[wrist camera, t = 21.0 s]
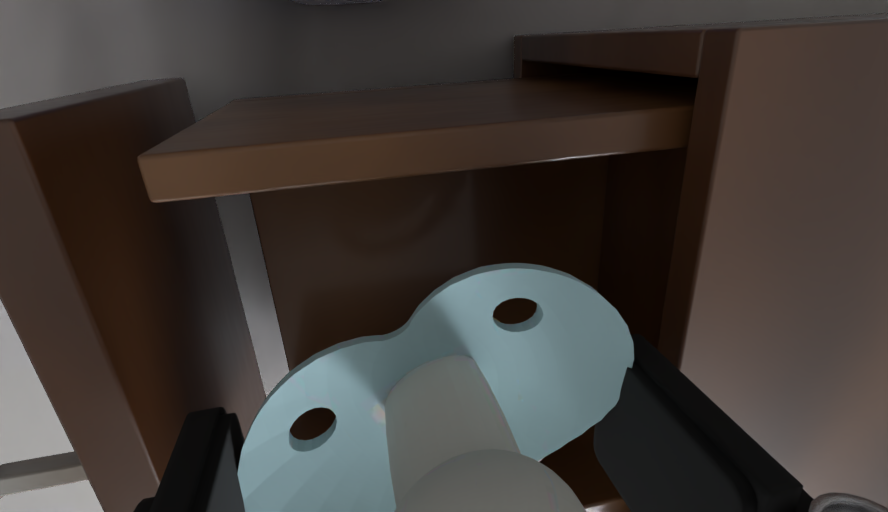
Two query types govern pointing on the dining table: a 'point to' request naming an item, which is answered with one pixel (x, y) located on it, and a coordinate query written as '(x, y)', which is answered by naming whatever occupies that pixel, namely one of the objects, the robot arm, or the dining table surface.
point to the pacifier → (446, 404)
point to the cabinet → (774, 228)
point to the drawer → (310, 239)
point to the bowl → (332, 1)
